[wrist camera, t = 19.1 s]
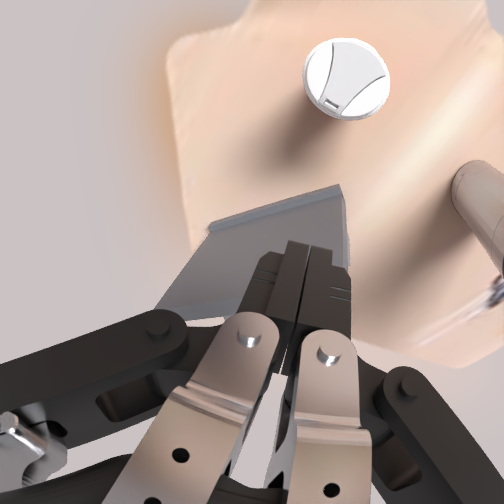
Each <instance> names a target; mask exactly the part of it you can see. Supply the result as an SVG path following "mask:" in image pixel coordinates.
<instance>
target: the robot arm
mask: <svg viewBox="0 0 504 504" xmlns="http://www.w3.org/2000/svg"><path fill="white" fill-rule="evenodd" d="M451 196H452V201H453V204H454V206H455V208H456V210H457V211H458V213H459V214H460V215H461V216H462V218H463V219H464V220H465V222H466V223H467V225H468V226H469V227H470V229H471V230H472V231H473V233H474V234H475V236H476V237H477V238H478V240H479V241H480V243H481V244H482V246H483V247H484V249H485V250H486V252H487V253H488V255H489V256H490V258H491V259H492V261H493V263H494V264H495V266H496V267H497V269H498V270H499V272H500V274H501V275H502V277H503V279H504V174H502V173H501V172H500V171H498V170H497V169H496V168H494V167H493V166H491V165H490V164H488V163H486V162H484V161H479V160H478V161H471V162H469V163H467V164H465V165H464V166H463V167H462V168H461V169H460V170H459V171H458V172H457V174H456V175H455V178H454V180H453V183H452V189H451ZM309 246H310V245H309V244H304V243H300V242H295V241H291V240H288V243H287V246H286V249H285V253H284V254H281V253H276V252H272V251H269V252H268V253H266V254H265V255H264V256H262V257H261V258H260V259H259V261H258V264H257V266H256V268H255V271H254V273H253V275H252V278H251V280H250V282H249V285H248V287H247V289H246V291H245V294H244V296H243V298H242V301H241V303H240V305H239V308H238V310H237V312H236V314H234V315H232V316H230V317H229V318H227V319H226V320H225V322H224V323H223V324H221V325H218V326H213V327H187V325H186V323H185V321H184V319H183V318H182V317H181V316H180V315H178V314H177V313H175V312H173V311H170V310H165V309H155V310H150V311H147V312H145V313H142V314H139V315H136V316H134V317H131V318H129V319H126V320H123V321H121V322H118V323H115V324H112V325H110V326H107V327H104V328H101V329H99V330H96V331H93V332H90V333H88V334H85V335H82V336H79V337H77V338H74V339H71V340H68V341H66V342H63V343H60V344H57V345H54V346H51V347H49V348H46V349H43V350H40V351H37V352H34V353H31V354H29V355H26V356H23V357H20V358H17V359H14V360H11V361H8V362H5V363H3V364H0V504H370V495H371V482H372V483H373V485H374V486H375V488H376V489H377V491H378V492H379V493H380V495H381V496H382V498H383V499H384V501H385V502H386V504H504V479H503V478H502V477H501V475H500V474H499V472H498V471H497V469H496V468H495V467H494V465H493V464H492V462H491V461H490V460H489V458H488V457H487V456H486V454H485V453H484V451H483V450H482V449H481V447H480V446H479V445H478V443H477V442H476V441H475V439H474V438H473V437H472V435H471V434H470V433H469V431H468V430H467V429H466V427H465V426H464V425H463V424H462V422H461V421H460V420H459V418H458V417H457V416H456V415H455V414H454V412H453V411H452V409H451V408H450V407H449V406H448V404H447V403H446V402H445V401H444V399H443V398H442V397H441V396H440V394H439V393H438V392H437V391H436V390H435V388H434V387H433V386H432V385H431V383H430V382H429V381H428V380H427V379H426V377H425V376H424V375H423V374H422V373H420V372H419V371H417V370H416V369H414V368H411V367H406V366H401V367H396V368H394V369H392V370H391V371H389V372H388V373H386V372H384V371H382V370H379V369H377V368H375V367H373V366H371V365H369V364H368V363H366V362H365V361H363V360H362V359H361V358H360V357H359V356H358V355H357V351H356V348H355V346H354V344H353V343H352V342H351V279H350V277H349V275H348V273H347V271H346V270H345V268H342V267H338V266H333V265H332V255H333V250H331V249H326V248H322V247H318V246H313V245H311V248H310V252H309V256H308V251H309ZM307 257H308V260H307ZM306 262H307V264H306ZM287 345H288V346H287ZM286 349H287V351H286ZM285 352H286V355H285ZM284 355H285V359H284V363H283V367H282V371H281V374H282V375H286V376H288V379H287V383H286V387H285V390H284V393H283V395H282V399H281V405H280V411H279V417H278V423H277V429H276V435H275V441H274V447H273V452H272V457H271V460H270V463H269V466H268V469H267V473H266V477H265V482H264V487H263V488H260V489H256V488H249V487H247V486H244V485H242V484H241V483H238V482H237V481H235V480H233V479H231V478H230V476H231V474H232V471H233V469H234V467H235V464H236V462H237V459H238V457H239V454H240V452H241V449H242V446H243V444H244V442H245V439H246V437H247V435H248V432H249V430H250V427H251V425H252V422H253V420H254V418H255V415H256V412H257V410H258V408H259V405H260V403H261V400H262V398H263V395H264V393H265V392H266V390H267V388H268V386H269V383H270V380H271V376H272V373H277V374H278V373H279V371H280V368H281V365H282V362H283V358H284ZM156 415H157V416H156ZM154 416H156V417H155V419H154V421H153V422H152V424H151V426H150V427H149V429H148V430H147V432H146V434H145V435H144V437H143V438H142V440H141V442H140V443H139V445H138V446H137V448H136V450H135V451H134V453H133V454H126V455H121V456H117V457H113V458H110V459H108V460H105V461H102V462H100V463H97V464H95V465H92V466H89V467H87V468H84V469H81V470H78V471H76V472H73V473H70V474H67V475H64V476H61V477H58V478H55V479H51V480H48V481H46V479H47V478H48V477H49V476H50V475H51V474H52V473H54V472H56V471H58V470H60V469H61V468H62V467H64V466H65V465H66V463H67V449H70V448H74V447H77V446H80V445H82V444H85V443H88V442H91V441H94V440H97V439H99V438H102V437H105V436H107V435H110V434H113V433H115V432H118V431H120V430H123V429H125V428H128V427H130V426H133V425H135V424H138V423H140V422H142V421H145V420H147V419H149V418H151V417H154Z"/></svg>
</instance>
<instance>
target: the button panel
mask: <svg viewBox="0 0 504 504" xmlns="http://www.w3.org/2000/svg"><path fill="white" fill-rule="evenodd" d="M208 228H209V230H210V231H211V233H210V234H209V235H208V236H207V238H206V239H205V240H204V242H203V243H202V244H201V246H200V247H199V248H198V250H197V251H196V252H195V254H194V255H193V256H192V258H191V259H190V260H189V262H188V263H187V264H186V266H185V267H184V268H183V270H182V271H181V272H180V274H179V275H178V276H177V278H176V279H175V280H174V282H173V283H172V285H171V286H170V287H169V289H168V290H167V291H166V293H165V294H164V296H163V297H162V298H161V300H160V301H159V303H158V304H157V305H156V307H155V308H154V310H155V309H165V310H170V311H173V312H175V313H177V314H178V315H180V316H181V317H182V318H183V319H184V321H188V320H197V319H205V318H214V317H222V316H223V317H224V319H225V320H226V319H227V318H229V317H230V316H232V315H234V314H236V312H237V310H238V308H239V305H240V303H241V301H242V298H243V296H244V294H245V291H246V289H247V287H248V285H249V282H250V280H251V278H252V275H253V273H254V271H255V268H256V266H257V264H258V261H259V259H260V258H261V257H262V256H264V255H265V254H266V253H268V252H269V251H272V252H276V253H281V254H284V253H285V249H286V246H287V243H288V240H291V241H295V242H300V243H304V244H309V245H310V246H309V251H308V256H309V252H310V248H311V245H313V246H318V247H322V248H326V249H331V250H333V255H332V265H333V266H338V267H342V268H345V270H346V271H347V273H348V266H350V243H349V236H348V233H347V224H346V207H345V201H344V198H343V195H342V191H341V188H340V185H339V184H337V185H333V186H330V187H326V188H322V189H319V190H315V191H312V192H309V193H305V194H302V195H298V196H295V197H291V198H288V199H285V200H281V201H278V202H275V203H271V204H268V205H265V206H262V207H258V208H255V209H252V210H249V211H246V212H242V213H239V214H236V215H233V216H230V217H227V218H224V219H221V220H218V221H214V222H211V224H210V225H209V226H208ZM307 260H308V257H307ZM306 264H307V262H306Z"/></svg>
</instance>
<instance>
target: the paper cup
mask: <svg viewBox="0 0 504 504" xmlns="http://www.w3.org/2000/svg"><path fill="white" fill-rule="evenodd" d="M302 77H303V84H304V88H305V90H306V93H307V95H308V96H309V98H310V100H311V101H312V102H313V103H314V105H315V106H316V107H318V108H319V109H320V110H321V111H323V112H324V113H325V114H327V115H329V116H331V117H334V118H337V119H341V120H351V121H352V120H360V119H364V118H367V117H369V116H371V115H373V114H374V113H376V112H377V111H378V110H379V109H380V108H381V107H382V106H383V104H384V103H385V101H386V99H387V97H388V94H389V90H390V77H389V72H388V69H387V67H386V65H385V63H384V61H383V59H382V58H381V57H380V56H379V54H378V53H377V52H376V50H375V49H374V48H373V47H372V46H370V45H369V44H367V43H365V42H363V41H361V40H358V39H355V38H336V39H331V40H327V41H325V42H323V43H321V44H319V45H318V46H316V47H315V48H314V49H313V50H312V51H311V52H310V54H309V55H308V56H307V58H306V60H305V63H304V66H303V73H302Z"/></svg>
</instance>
